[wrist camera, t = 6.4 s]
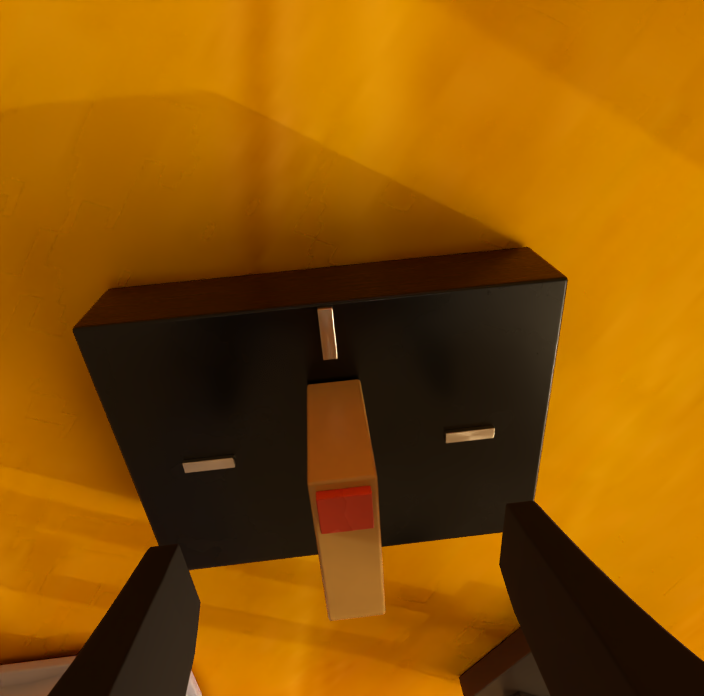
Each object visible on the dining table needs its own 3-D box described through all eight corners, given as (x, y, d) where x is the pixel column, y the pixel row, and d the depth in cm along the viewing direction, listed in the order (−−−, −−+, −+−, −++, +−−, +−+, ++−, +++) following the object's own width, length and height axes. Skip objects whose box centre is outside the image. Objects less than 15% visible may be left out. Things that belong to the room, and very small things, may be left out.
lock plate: (185, 513, 18) (167, 578, 16) (106, 288, 14) (66, 331, 11) (504, 476, 19) (533, 534, 16) (529, 245, 14) (572, 279, 12)
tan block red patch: (369, 503, 15) (387, 625, 12) (324, 508, 15) (329, 632, 12) (360, 377, 13) (378, 485, 9) (306, 383, 13) (306, 493, 9)
